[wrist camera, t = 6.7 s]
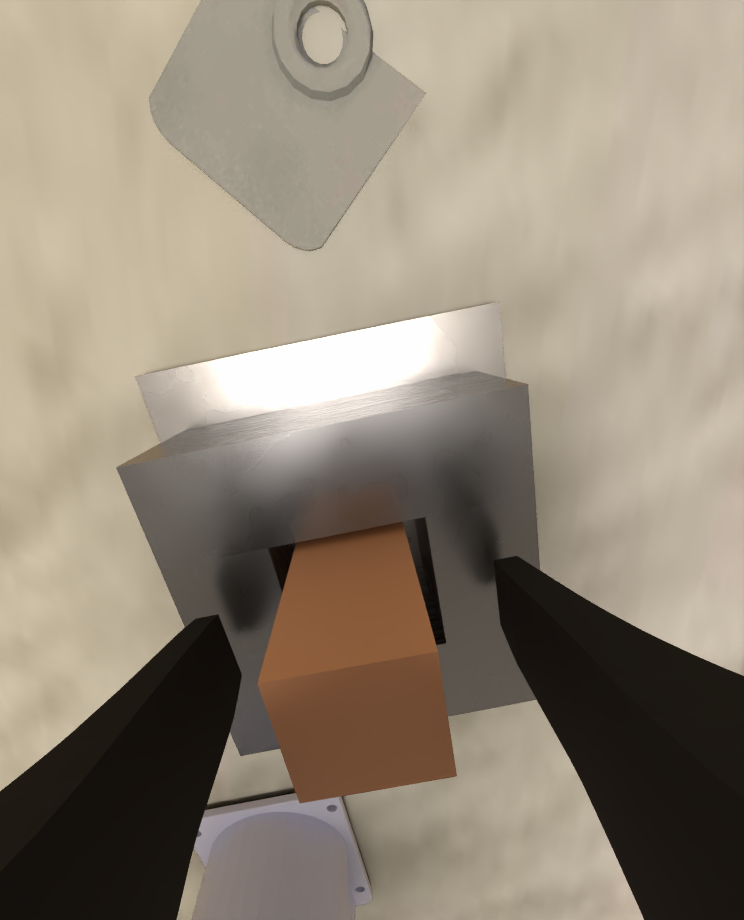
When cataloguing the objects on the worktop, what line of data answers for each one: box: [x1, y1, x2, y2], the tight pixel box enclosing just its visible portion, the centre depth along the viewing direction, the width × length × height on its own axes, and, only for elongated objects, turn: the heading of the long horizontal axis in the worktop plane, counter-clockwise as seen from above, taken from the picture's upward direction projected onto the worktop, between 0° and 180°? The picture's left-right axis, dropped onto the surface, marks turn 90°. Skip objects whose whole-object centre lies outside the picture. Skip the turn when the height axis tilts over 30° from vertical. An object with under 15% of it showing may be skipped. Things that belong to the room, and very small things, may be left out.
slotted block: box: [116, 302, 540, 756], centre depth 13 cm, size 14×12×5 cm
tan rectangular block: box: [257, 522, 457, 803], centre depth 10 cm, size 3×3×8 cm
